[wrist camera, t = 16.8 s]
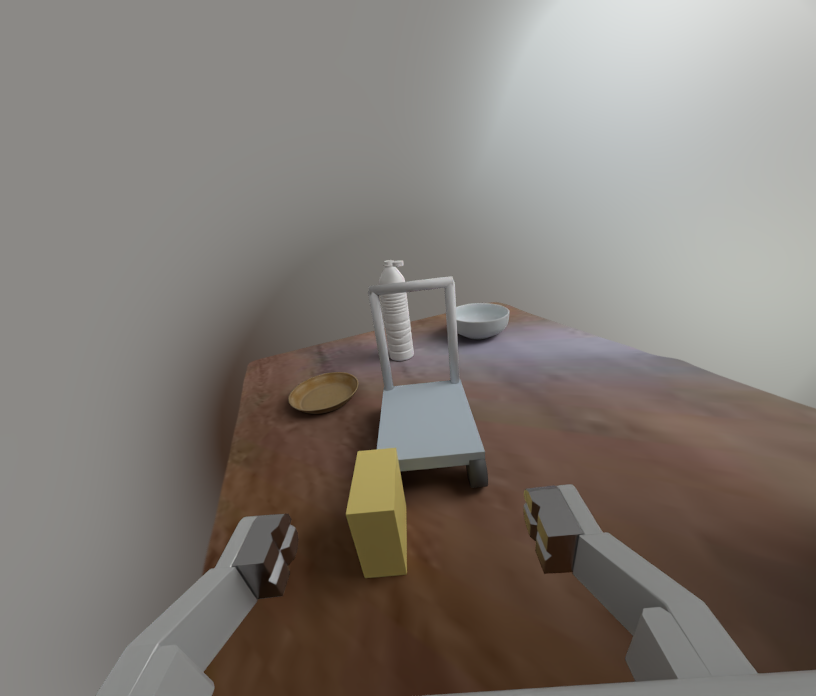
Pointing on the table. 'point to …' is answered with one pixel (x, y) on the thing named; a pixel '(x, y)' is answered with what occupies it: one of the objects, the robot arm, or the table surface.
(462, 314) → the cereal bowl
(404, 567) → the yellow rectangular block
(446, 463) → the trolley
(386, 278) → the water bottle
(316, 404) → the plant saucer
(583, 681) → the table surface
